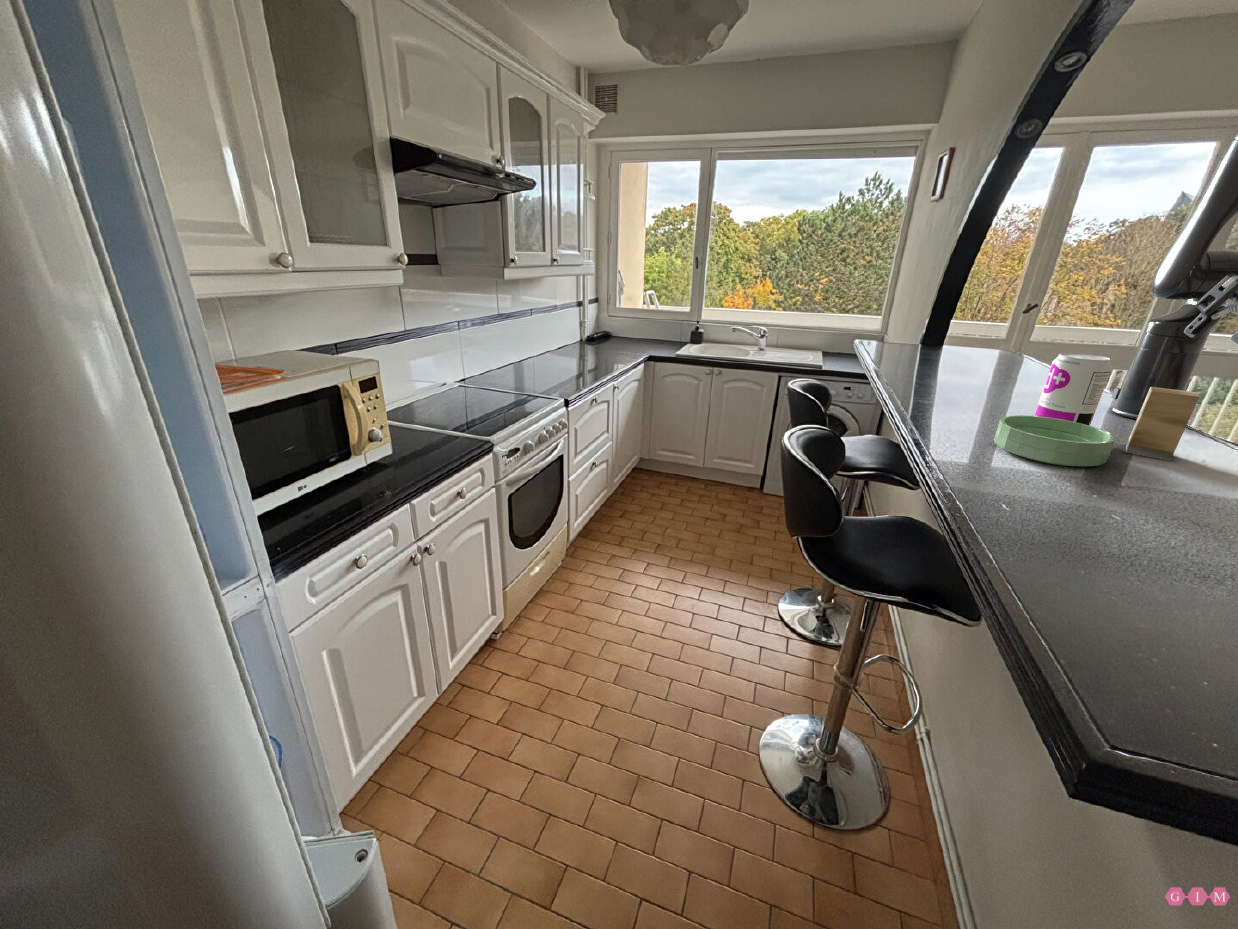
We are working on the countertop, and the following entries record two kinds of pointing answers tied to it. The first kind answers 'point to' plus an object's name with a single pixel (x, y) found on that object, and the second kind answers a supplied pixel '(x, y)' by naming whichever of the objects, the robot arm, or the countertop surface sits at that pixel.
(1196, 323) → the robot arm
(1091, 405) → the supplement can
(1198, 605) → the countertop surface
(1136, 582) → the countertop surface
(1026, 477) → the countertop surface
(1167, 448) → the light brown wooden block
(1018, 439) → the bowl
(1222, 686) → the countertop surface
